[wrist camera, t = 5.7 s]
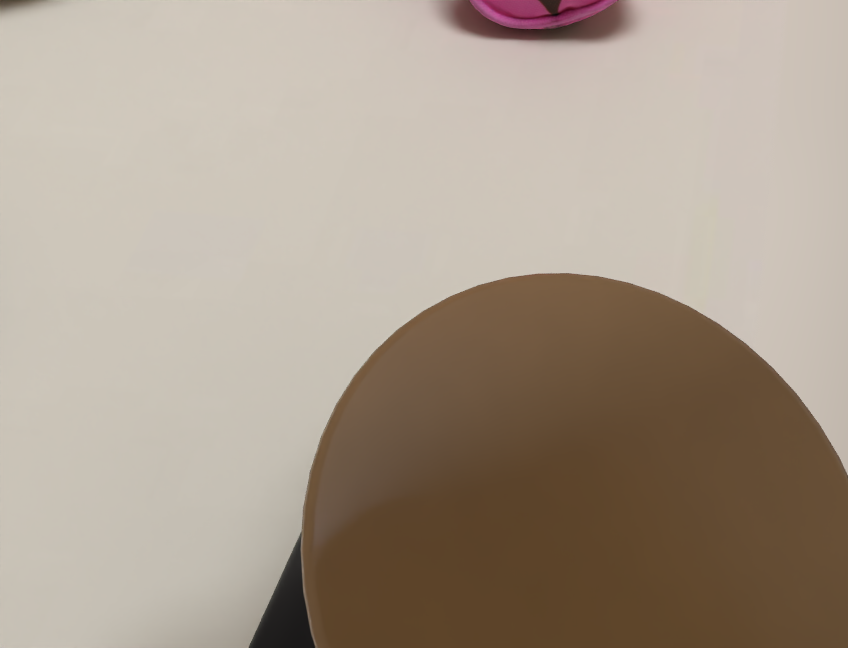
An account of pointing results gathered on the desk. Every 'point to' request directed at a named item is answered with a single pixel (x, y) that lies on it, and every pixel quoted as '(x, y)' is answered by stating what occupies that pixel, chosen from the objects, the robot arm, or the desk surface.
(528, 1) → the pencil case
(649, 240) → the desk surface
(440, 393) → the wooden peg on base
